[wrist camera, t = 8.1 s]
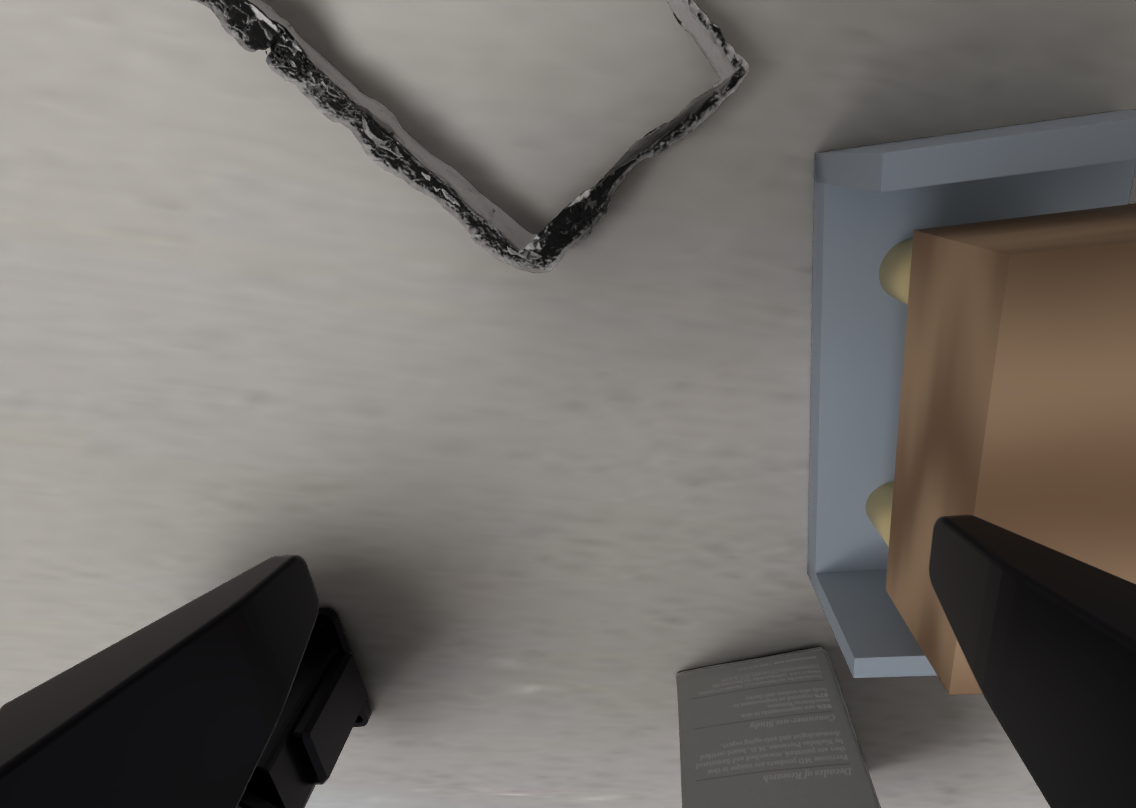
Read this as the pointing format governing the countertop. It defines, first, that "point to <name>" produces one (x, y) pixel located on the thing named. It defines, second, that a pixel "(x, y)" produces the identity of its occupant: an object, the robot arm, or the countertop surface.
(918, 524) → the brown rectangular block
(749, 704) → the skincare box
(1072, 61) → the countertop surface
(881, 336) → the peg stand
